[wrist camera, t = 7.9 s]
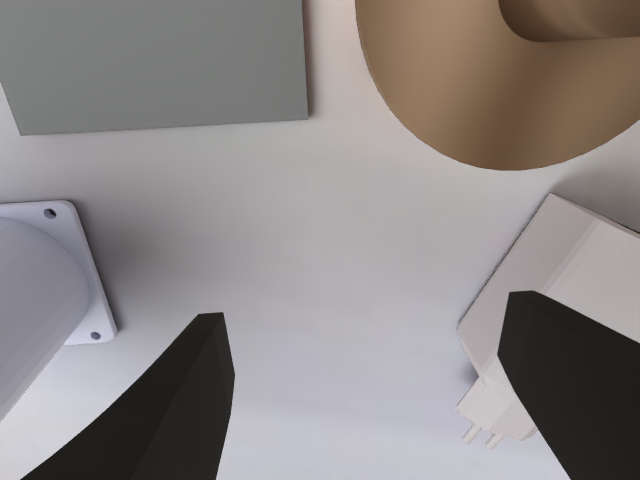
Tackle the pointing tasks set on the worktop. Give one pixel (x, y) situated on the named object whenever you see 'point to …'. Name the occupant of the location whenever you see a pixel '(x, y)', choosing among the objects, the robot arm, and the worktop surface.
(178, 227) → the worktop surface
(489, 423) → the charger
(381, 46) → the lid
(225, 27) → the mat
